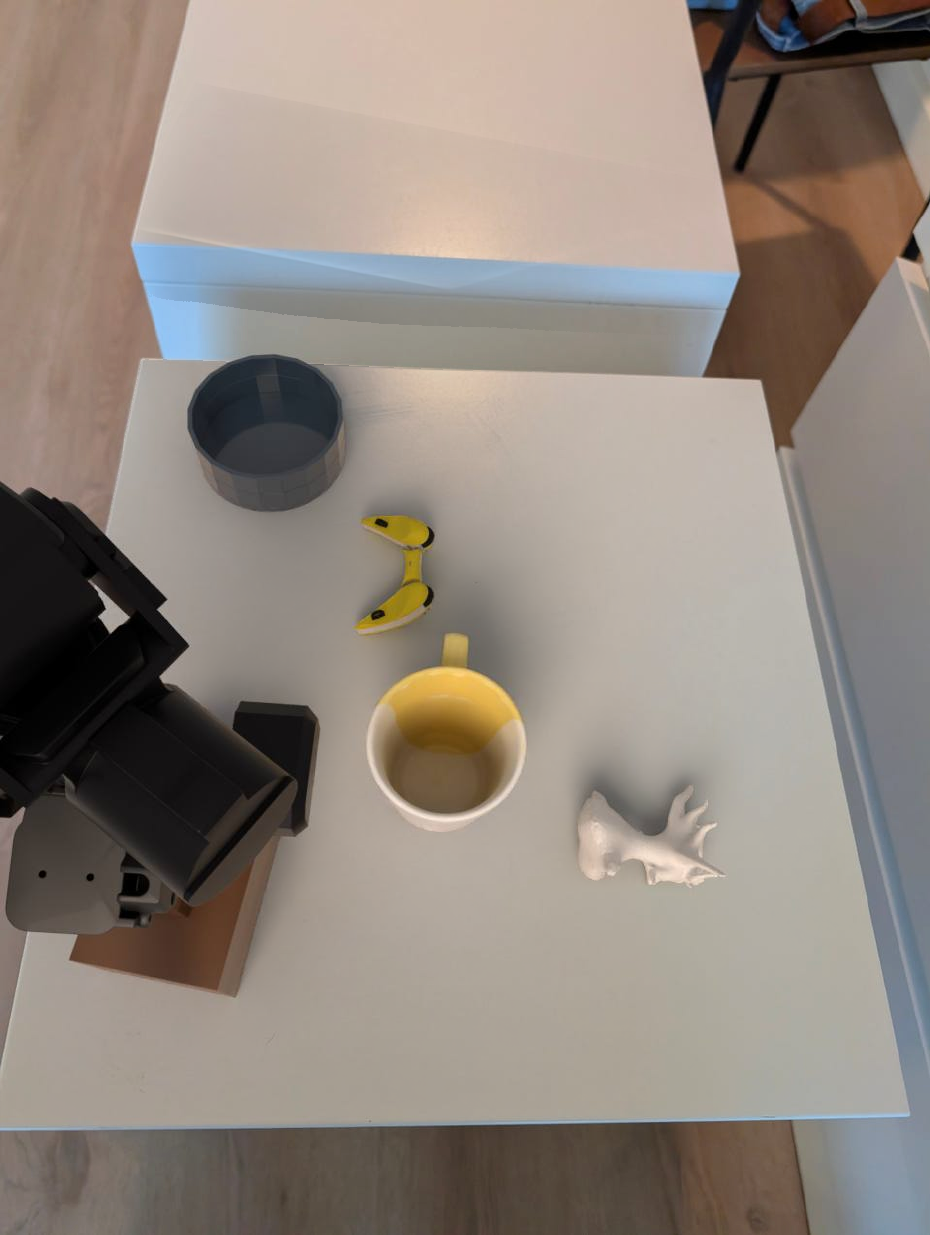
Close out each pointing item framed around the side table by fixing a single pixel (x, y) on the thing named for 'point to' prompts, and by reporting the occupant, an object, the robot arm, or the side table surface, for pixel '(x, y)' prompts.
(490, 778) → the mug
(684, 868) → the figurine
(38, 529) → the robot arm
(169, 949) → the stand
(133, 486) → the side table surface
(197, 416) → the bowl
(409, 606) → the game controller
